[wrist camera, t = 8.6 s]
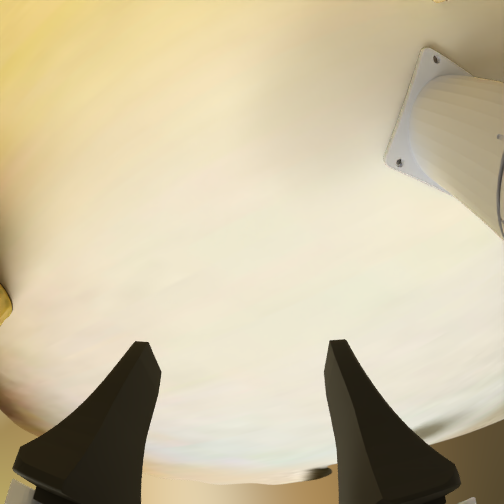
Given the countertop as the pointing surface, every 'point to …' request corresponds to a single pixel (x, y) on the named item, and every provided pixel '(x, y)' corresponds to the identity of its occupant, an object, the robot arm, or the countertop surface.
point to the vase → (4, 305)
